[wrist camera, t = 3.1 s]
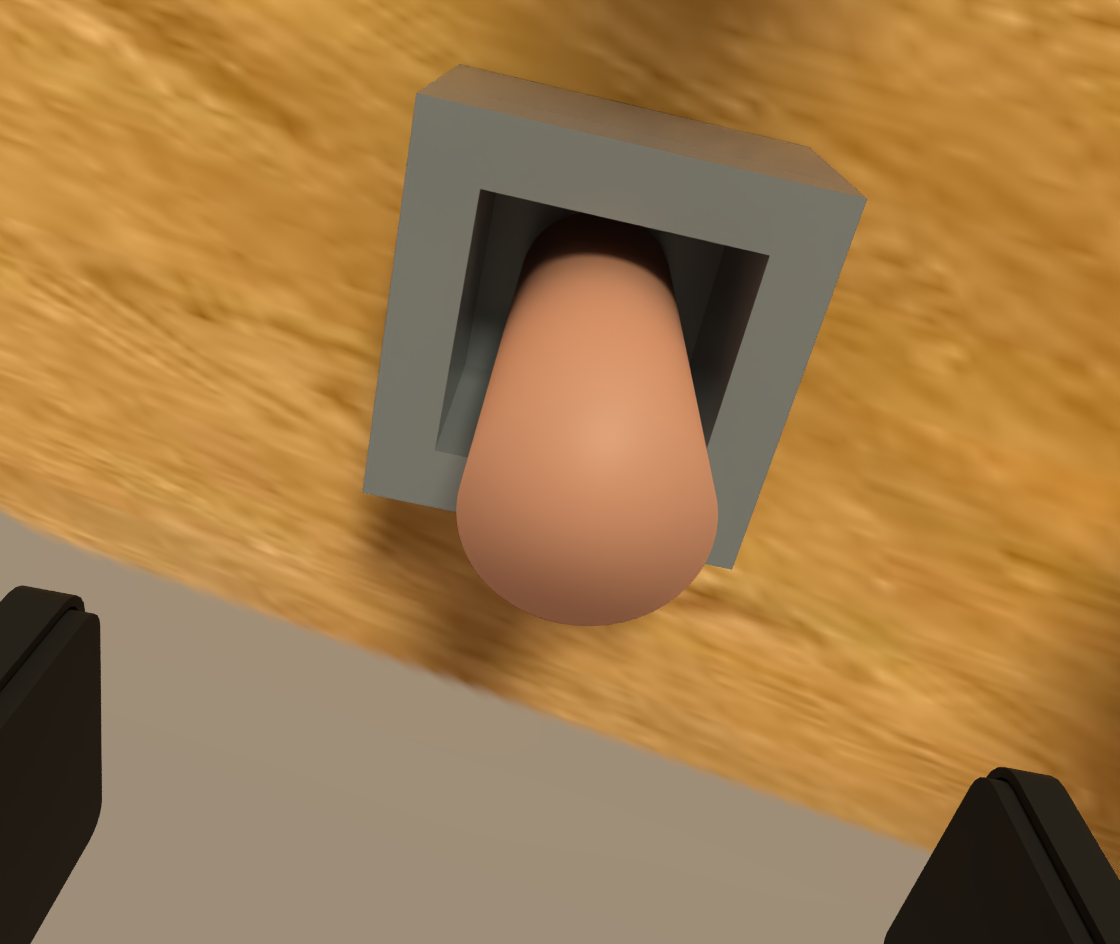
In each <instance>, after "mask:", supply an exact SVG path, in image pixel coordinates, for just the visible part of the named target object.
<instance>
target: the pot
mask: <svg viewBox="0 0 1120 944" xmlns="http://www.w3.org/2000/svg"><path fill="white" fill-rule="evenodd" d="M866 201H867V198H866V197H865V196H864V195H863V194H861V193H860V192H859V191H858V190H857V189H856V188H855V187H854V186H852V185H851V184H850V183H849V182H848V181H847V180H846V179H845V178H844V177H842V176H841V175H840V174H839V173H838V172H837V171H836V170H835V169H833V168H832V167H831V166H830V165H829V164H828V163H827V162H826V161H824V160H823V159H822V158H821V157H820V156H819V155H818V154H817V153H816V152H814V151H813V150H812V149H811V148H810V147H806V146H801V145H797V144H793V143H789V142H785V141H780V140H776V139H772V138H768V137H764V136H759V135H755V134H751V133H747V132H743V131H738V130H734V129H730V128H726V127H721V126H717V125H713V124H709V123H705V122H700V121H696V120H692V119H688V118H684V117H679V116H675V115H671V114H667V113H663V112H658V111H654V110H650V109H646V108H641V107H637V106H633V105H629V104H625V103H620V102H616V101H612V100H608V99H604V98H599V97H595V96H591V95H587V94H583V93H578V92H574V91H570V90H566V89H561V88H557V87H553V86H549V85H545V84H540V83H536V82H532V81H528V80H524V79H519V78H515V77H511V76H507V75H503V74H498V73H494V72H490V71H486V70H481V69H477V68H473V67H469V66H465V65H460V64H459V65H458V66H456V67H455V68H453V69H452V70H450V71H449V72H447V73H446V74H444V75H443V76H441V77H440V78H438V79H437V80H435V81H434V82H432V83H431V84H429V85H428V86H426V87H425V88H423V89H422V90H420V91H419V92H417V93H416V101H415V108H414V115H413V123H412V130H411V138H410V145H409V152H408V160H407V167H406V175H405V182H404V189H403V197H402V204H401V212H400V219H399V226H398V234H397V241H396V248H395V256H394V263H393V271H392V278H391V285H390V293H389V300H388V308H387V315H386V322H385V330H384V337H383V345H382V352H381V359H380V367H379V374H378V382H377V389H376V396H375V404H374V411H373V419H372V426H371V433H370V441H369V448H368V456H367V463H366V470H365V478H364V485H363V493H366V494H371V495H376V496H381V497H386V498H390V499H395V500H400V501H405V502H410V503H414V504H419V505H424V506H429V507H434V508H438V509H443V510H448V511H453V512H456V505H457V496H458V491H459V487H460V484H461V480H462V476H463V473H464V469H465V466H466V462H467V459H468V455H469V452H470V448H471V445H472V441H473V438H474V434H475V431H476V427H477V424H478V420H479V416H480V413H481V409H482V406H483V402H484V399H485V395H486V392H487V388H488V385H489V381H490V378H491V374H492V371H493V367H494V364H495V360H496V357H497V353H498V350H499V346H500V343H501V339H502V335H503V332H504V328H505V325H506V321H507V318H508V314H509V311H510V307H511V304H512V300H513V297H514V293H515V290H516V286H517V283H518V279H519V276H520V272H521V269H522V265H523V262H524V259H525V257H526V254H527V252H528V250H529V249H530V247H531V245H532V244H533V242H534V241H535V240H536V238H537V237H538V236H539V235H540V234H541V233H542V232H543V231H544V230H545V229H546V228H548V227H549V226H550V225H552V224H553V223H554V222H556V221H558V220H560V219H562V218H564V217H566V216H569V215H571V214H575V213H579V212H583V213H587V214H592V215H596V216H600V217H605V218H609V219H613V220H618V221H622V222H627V223H631V224H635V225H640V226H643V227H644V228H645V229H646V230H647V231H649V232H650V234H651V235H652V236H653V237H654V238H655V239H656V240H657V242H658V243H659V245H660V246H661V248H662V250H663V252H664V254H665V256H666V259H667V262H668V264H669V269H670V274H671V279H672V283H673V288H674V293H675V298H676V303H677V308H678V313H679V317H680V322H681V327H682V332H683V337H684V342H685V347H686V352H687V356H688V361H689V366H690V371H691V376H692V381H693V386H694V390H695V395H696V400H697V405H698V410H699V415H700V420H701V425H702V429H703V434H704V439H705V444H706V449H707V454H708V459H709V463H710V468H711V473H712V478H713V483H714V488H715V493H716V498H717V503H718V524H717V533H716V536H715V540H714V544H713V547H712V550H711V552H710V554H709V557H708V559H707V561H706V563H705V564H708V565H713V566H717V567H722V568H727V569H732V568H733V565H734V563H735V560H736V557H737V554H738V552H739V549H740V546H741V543H742V541H743V538H744V535H745V532H746V530H747V527H748V524H749V521H750V519H751V516H752V513H753V511H754V508H755V505H756V502H757V500H758V497H759V494H760V491H761V489H762V486H763V483H764V480H765V478H766V475H767V472H768V469H769V467H770V464H771V461H772V458H773V456H774V453H775V450H776V447H777V445H778V442H779V439H780V437H781V434H782V431H783V428H784V426H785V423H786V420H787V417H788V415H789V412H790V409H791V406H792V404H793V401H794V398H795V395H796V393H797V390H798V387H799V384H800V382H801V379H802V376H803V373H804V371H805V368H806V365H807V363H808V360H809V357H810V354H811V352H812V349H813V346H814V343H815V341H816V338H817V335H818V332H819V330H820V327H821V324H822V321H823V319H824V316H825V313H826V310H827V308H828V305H829V302H830V299H831V297H832V294H833V291H834V289H835V286H836V283H837V280H838V278H839V275H840V272H841V269H842V267H843V264H844V261H845V258H846V256H847V253H848V250H849V247H850V245H851V242H852V239H853V236H854V234H855V231H856V228H857V225H858V223H859V220H860V217H861V214H862V212H863V209H864V206H865V204H866Z"/></svg>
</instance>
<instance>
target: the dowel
mask: <svg viewBox="0 0 1120 944" xmlns="http://www.w3.org/2000/svg"><path fill="white" fill-rule="evenodd" d="M456 516H457V527H458V532H459V537H460V540H461V543H462V546H463V549H464V551H465V553H466V555H467V557H468V559H469V561H470V563H471V565H472V566H473V568H474V569H475V571H476V572H477V573H478V575H479V576H480V577H481V578H482V580H483V581H484V582H485V583H486V584H487V585H488V586H489V587H490V588H491V589H492V590H493V591H494V592H496V593H497V594H498V595H499V596H500V597H501V598H503V599H504V600H506V601H507V602H509V603H510V604H512V605H513V606H515V607H517V608H519V609H521V610H523V611H525V612H527V613H529V614H531V615H534V616H537V617H539V618H542V619H545V620H549V621H553V622H557V623H562V624H569V625H579V626H598V625H609V624H615V623H621V622H625V621H628V620H632V619H635V618H638V617H641V616H643V615H646V614H648V613H651V612H653V611H655V610H656V609H658V608H660V607H662V606H664V605H665V604H667V603H668V602H670V601H671V600H672V599H674V598H675V597H677V596H678V595H679V594H680V593H681V592H682V591H683V590H684V589H685V588H687V587H688V586H689V585H690V584H691V582H692V581H693V580H694V579H695V577H696V576H697V575H698V574H699V572H700V571H701V569H702V567H703V566H704V564H705V563H706V561H707V559H708V557H709V554H710V552H711V550H712V547H713V544H714V540H715V536H716V533H717V524H718V503H717V498H716V493H715V488H714V483H713V478H712V473H711V468H710V463H709V459H708V454H707V449H706V444H705V439H704V434H703V429H702V425H701V420H700V415H699V410H698V405H697V400H696V395H695V390H694V386H693V381H692V376H691V371H690V366H689V361H688V356H687V352H686V347H685V342H684V337H683V332H682V327H681V322H680V317H679V313H678V308H677V303H676V298H675V293H674V288H673V283H672V279H671V274H670V269H669V264H668V262H667V259H666V256H665V254H664V252H663V250H662V248H661V246H660V245H659V243H658V242H657V240H656V239H655V238H654V237H653V236H652V235H651V234H650V232H649V231H647V230H646V229H645V228H644V227H643V226H640V225H635V224H631V223H627V222H622V221H618V220H613V219H609V218H605V217H600V216H596V215H592V214H587V213H583V212H579V213H575V214H571V215H569V216H566V217H564V218H562V219H560V220H558V221H556V222H554V223H553V224H552V225H550V226H549V227H548V228H546V229H545V230H544V231H543V232H542V233H541V234H540V235H539V236H538V237H537V238H536V240H535V241H534V242H533V244H532V245H531V247H530V249H529V250H528V252H527V254H526V257H525V259H524V262H523V265H522V269H521V272H520V276H519V279H518V283H517V286H516V290H515V293H514V297H513V300H512V304H511V307H510V311H509V314H508V318H507V321H506V325H505V328H504V332H503V335H502V339H501V343H500V346H499V350H498V353H497V357H496V360H495V364H494V367H493V371H492V374H491V378H490V381H489V385H488V388H487V392H486V395H485V399H484V402H483V406H482V409H481V413H480V416H479V420H478V424H477V427H476V431H475V434H474V438H473V441H472V445H471V448H470V452H469V455H468V459H467V462H466V466H465V469H464V473H463V476H462V480H461V484H460V487H459V491H458V496H457V505H456Z"/></svg>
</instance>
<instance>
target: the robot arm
mask: <svg viewBox="0 0 1120 944" xmlns="http://www.w3.org/2000/svg"><path fill="white" fill-rule="evenodd" d="M100 665H101V662H100V621H99V618H98V616H97V615H95V614H93V613H87V612H85V608H84V603H83V601H82V599H81V598H80V597H78V596H76V595H71V594H66V593H60V592H55V591H49V590H43V589H38V588H33V587H28V586H18V587H16V588H14V589H13V590H12V591H10V592H9V593H8V594H7V595H6V596H5V597H4V598H3V600H2V601H1V602H0V944H30V943H31V942H32V940H33V938H34V936H35V934H36V933H37V931H38V929H39V928H40V926H41V924H42V923H43V921H44V919H45V917H46V915H47V914H48V912H49V910H50V908H51V907H52V905H53V903H54V902H55V900H56V898H57V896H58V895H59V893H60V891H61V889H62V888H63V886H64V884H65V882H66V881H67V879H68V877H69V875H70V874H71V871H72V870H73V868H74V867H75V865H76V863H77V861H78V860H79V858H80V856H81V854H82V853H83V851H84V849H85V847H86V846H87V844H88V842H89V840H90V838H91V836H92V834H93V832H94V830H95V827H96V824H97V822H98V818H99V815H100V810H101V804H102V773H101V772H102V765H101V763H102V762H101V666H100ZM884 944H1120V880H1119V879H1118V877H1117V875H1116V874H1115V872H1114V870H1113V869H1112V867H1111V865H1110V864H1109V862H1108V860H1107V858H1106V857H1105V855H1104V853H1103V852H1102V850H1101V848H1100V847H1099V845H1098V843H1097V842H1096V840H1095V838H1094V837H1093V835H1092V833H1091V831H1090V830H1089V828H1088V826H1087V825H1086V823H1085V821H1084V820H1083V818H1082V816H1081V815H1080V813H1079V811H1078V810H1077V808H1076V806H1075V804H1074V803H1073V801H1072V799H1071V798H1070V796H1069V794H1068V793H1067V791H1066V789H1065V788H1064V786H1063V785H1062V784H1061V783H1060V782H1059V780H1057V779H1056V778H1054V777H1052V776H1049V775H1043V774H1038V773H1033V772H1027V771H1022V770H1016V769H1011V768H1006V767H998V768H996V769H994V770H992V771H991V772H990V773H989V775H988V776H987V777H986V778H982V777H980V778H978V779H976V780H975V781H974V782H973V784H972V785H971V786H970V788H969V790H968V792H967V793H966V795H965V797H964V799H963V801H962V802H961V804H960V806H959V808H958V809H957V811H956V813H955V815H954V816H953V818H952V820H951V822H950V823H949V825H948V827H947V829H946V830H945V832H944V834H943V836H942V837H941V839H940V841H939V843H938V844H937V846H936V848H935V850H934V851H933V853H932V855H931V857H930V858H929V860H928V862H927V864H926V865H925V867H924V869H923V871H922V872H921V874H920V876H919V878H918V879H917V881H916V883H915V885H914V886H913V888H912V890H911V892H910V893H909V895H908V897H907V899H906V900H905V902H904V904H903V906H902V907H901V909H900V911H899V913H898V915H897V916H896V918H895V920H894V921H893V923H892V925H891V927H890V928H889V930H888V932H887V934H886V937H885V940H884Z"/></svg>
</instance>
